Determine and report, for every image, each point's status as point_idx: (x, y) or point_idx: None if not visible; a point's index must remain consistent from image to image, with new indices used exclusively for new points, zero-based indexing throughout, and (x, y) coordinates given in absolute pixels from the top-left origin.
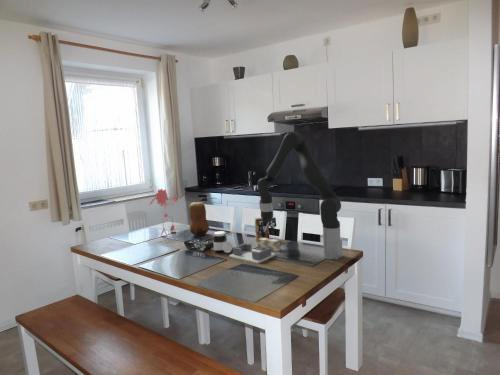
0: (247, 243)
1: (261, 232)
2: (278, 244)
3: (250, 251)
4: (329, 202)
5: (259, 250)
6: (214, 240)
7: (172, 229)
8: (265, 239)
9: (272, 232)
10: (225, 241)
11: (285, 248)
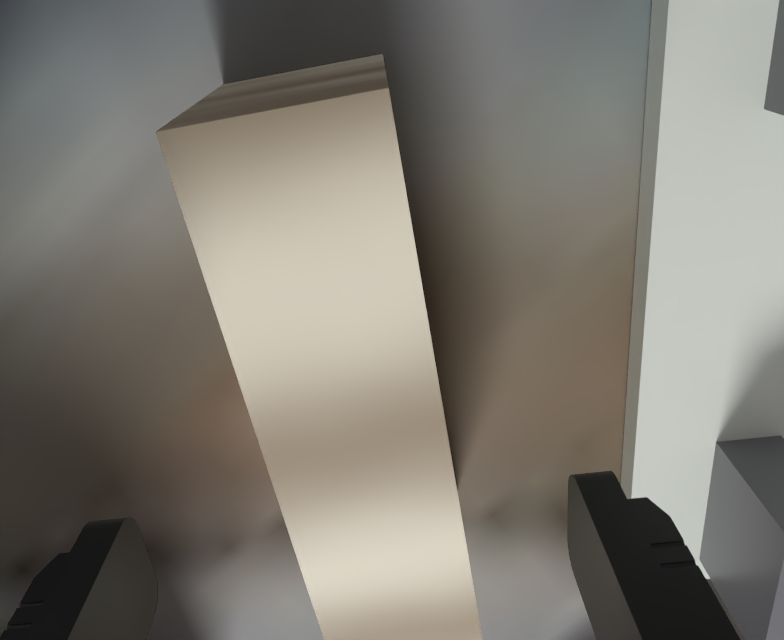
0: (777, 617)
1: None
2: (281, 92)
3: (775, 423)
4: None
5: (647, 336)
6: None
7: None
8: (397, 505)
9: (116, 586)
10: None
11: (87, 26)
